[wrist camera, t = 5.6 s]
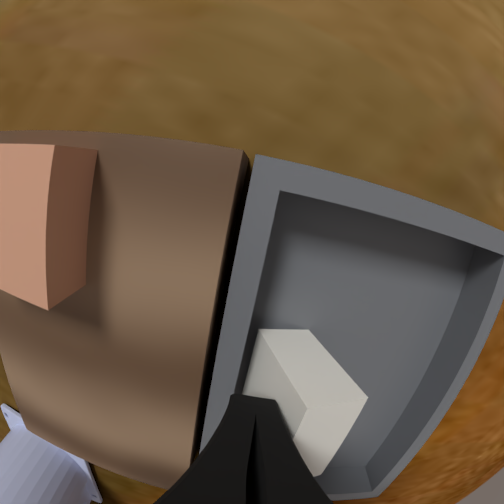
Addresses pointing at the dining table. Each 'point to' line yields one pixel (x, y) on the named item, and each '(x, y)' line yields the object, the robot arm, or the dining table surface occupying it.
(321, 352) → the tile
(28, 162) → the tile
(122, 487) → the dining table surface
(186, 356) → the board
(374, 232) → the box
